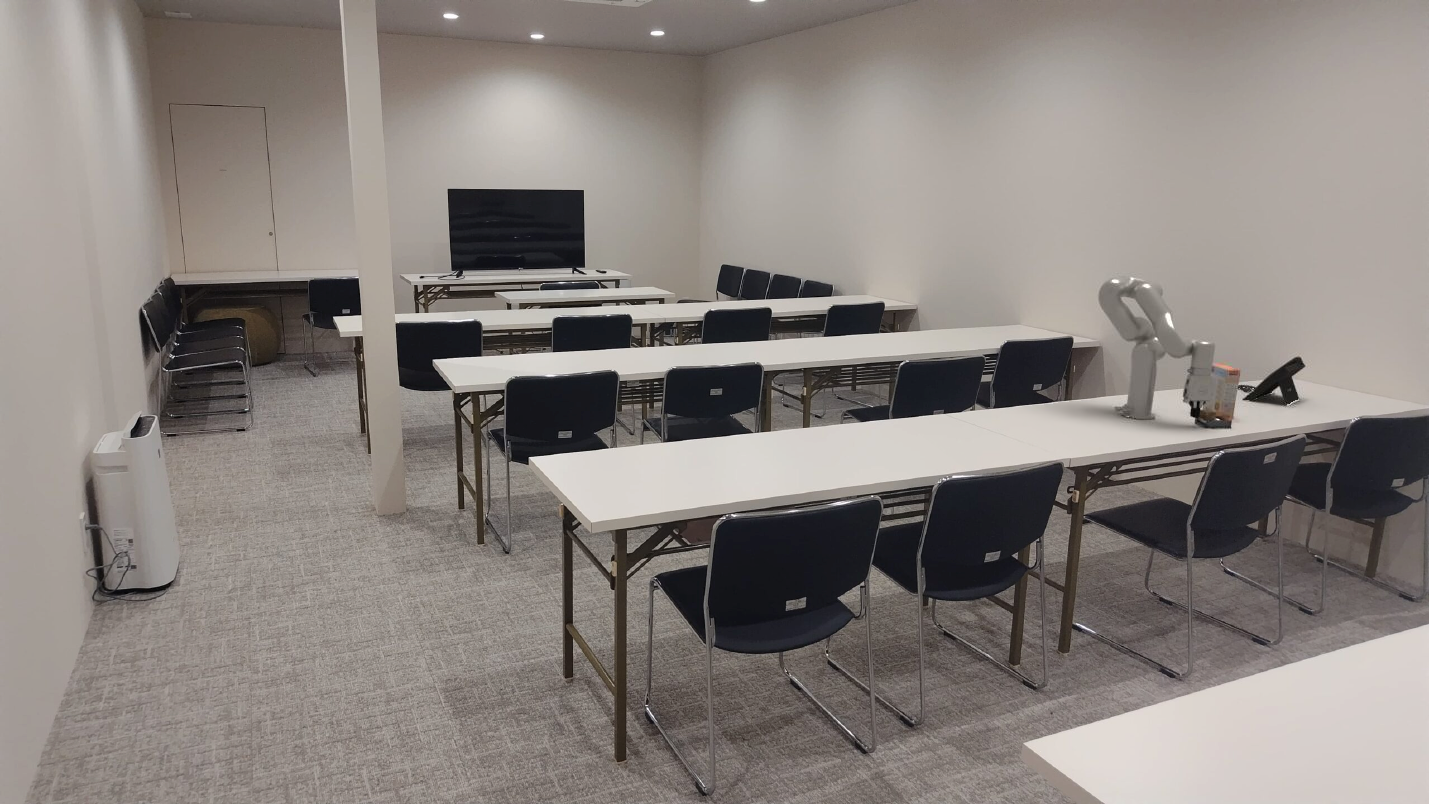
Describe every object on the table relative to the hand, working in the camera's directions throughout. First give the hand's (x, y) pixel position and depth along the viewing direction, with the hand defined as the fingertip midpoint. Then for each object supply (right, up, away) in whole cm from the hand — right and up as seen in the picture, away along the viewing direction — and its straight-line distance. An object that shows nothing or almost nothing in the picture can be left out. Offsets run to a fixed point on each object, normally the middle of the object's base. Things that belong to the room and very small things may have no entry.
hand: (1194, 416), depth 355 cm
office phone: (+59, +8, +54) cm, 81 cm away
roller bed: (+8, -3, +2) cm, 9 cm away
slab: (+5, 0, +1) cm, 5 cm away
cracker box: (+20, 0, +19) cm, 27 cm away
